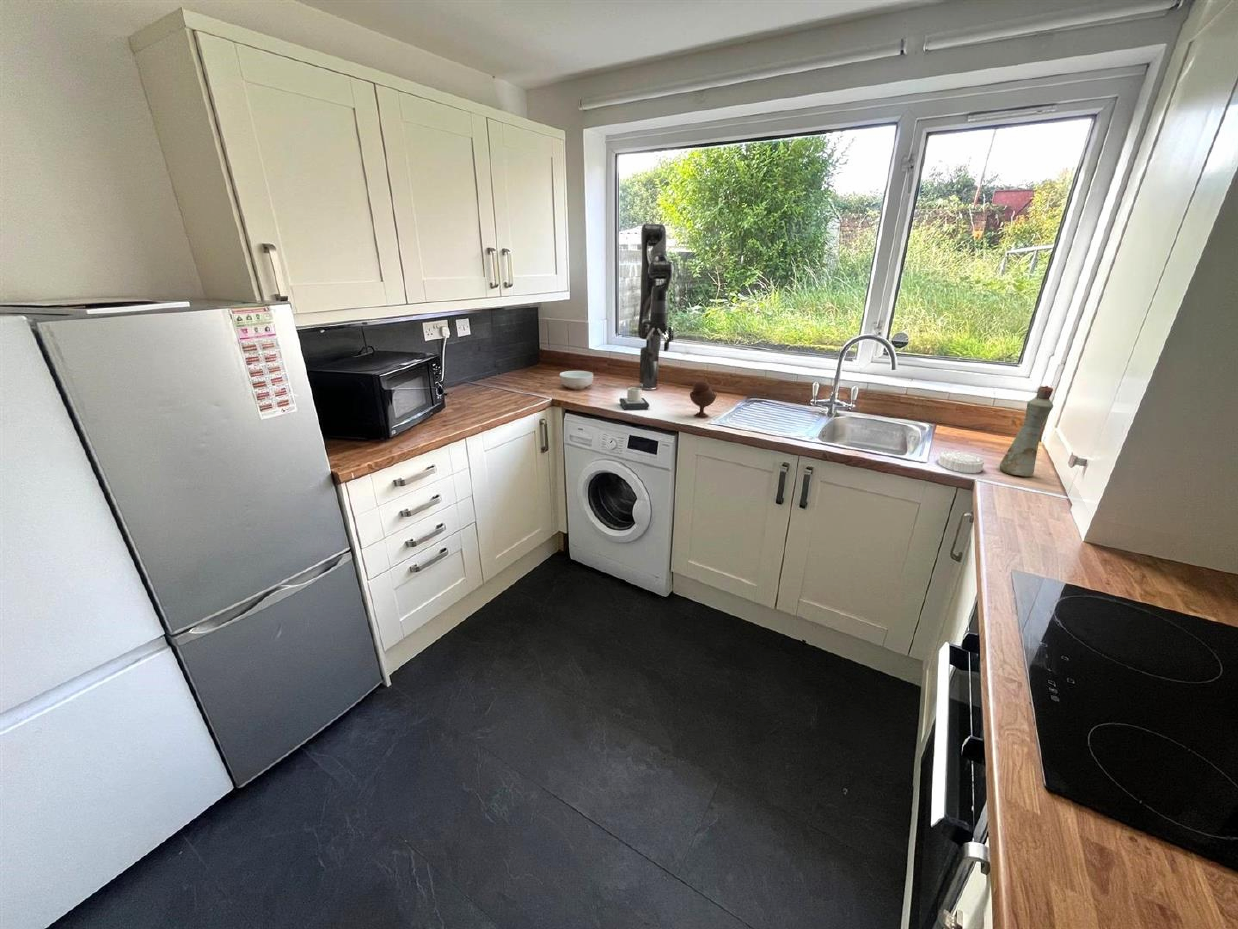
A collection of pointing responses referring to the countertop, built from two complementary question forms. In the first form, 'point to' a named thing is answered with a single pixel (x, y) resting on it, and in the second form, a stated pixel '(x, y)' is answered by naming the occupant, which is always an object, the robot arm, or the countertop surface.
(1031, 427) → the bottle
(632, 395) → the white short cylinder
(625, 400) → the scale pan
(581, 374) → the cereal bowl
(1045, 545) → the countertop surface
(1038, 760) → the countertop surface
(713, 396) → the ice cream bowl
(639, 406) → the scale
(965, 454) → the mooncake
